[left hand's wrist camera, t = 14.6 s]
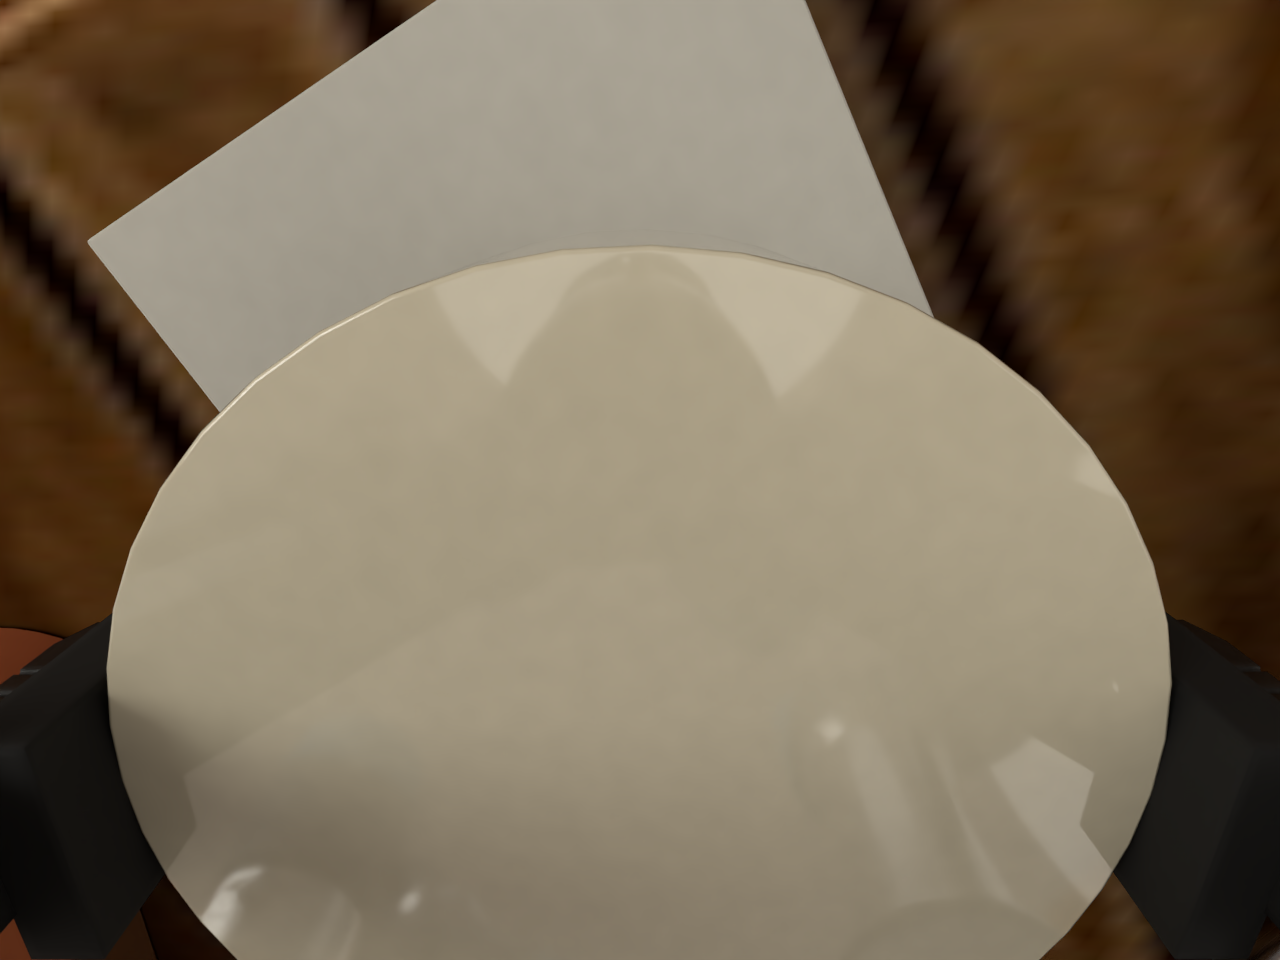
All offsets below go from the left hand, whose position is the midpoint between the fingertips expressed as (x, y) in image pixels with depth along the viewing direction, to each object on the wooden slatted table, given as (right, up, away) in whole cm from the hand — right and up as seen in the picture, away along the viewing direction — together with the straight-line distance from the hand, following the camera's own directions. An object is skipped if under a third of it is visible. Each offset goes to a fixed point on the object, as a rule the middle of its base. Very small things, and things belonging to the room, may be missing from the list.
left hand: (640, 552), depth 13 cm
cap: (0, -1, -2) cm, 2 cm away
